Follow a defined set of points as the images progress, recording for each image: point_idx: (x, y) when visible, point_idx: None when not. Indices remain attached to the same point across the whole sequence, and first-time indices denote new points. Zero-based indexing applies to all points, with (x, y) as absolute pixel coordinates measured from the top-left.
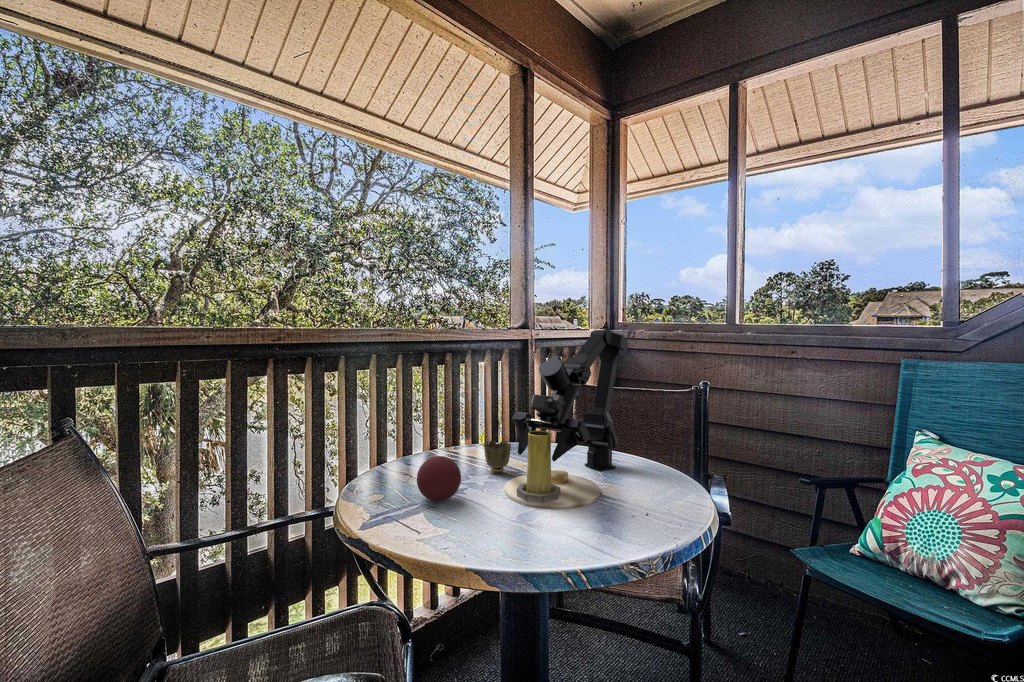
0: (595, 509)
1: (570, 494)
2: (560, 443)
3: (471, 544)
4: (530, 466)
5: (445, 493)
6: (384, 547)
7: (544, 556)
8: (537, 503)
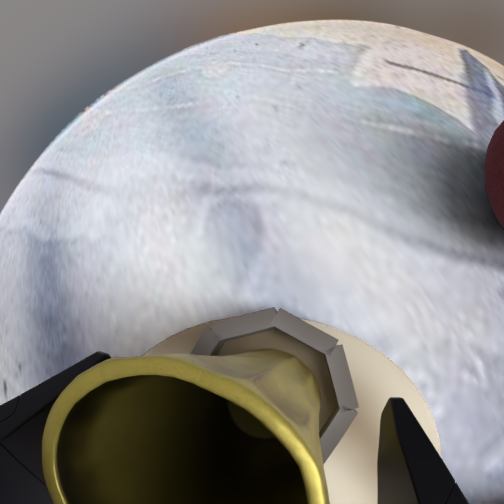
0: None
1: None
2: (14, 406)
3: (272, 67)
4: (273, 361)
5: (485, 159)
6: (381, 23)
7: (134, 104)
8: (234, 317)
